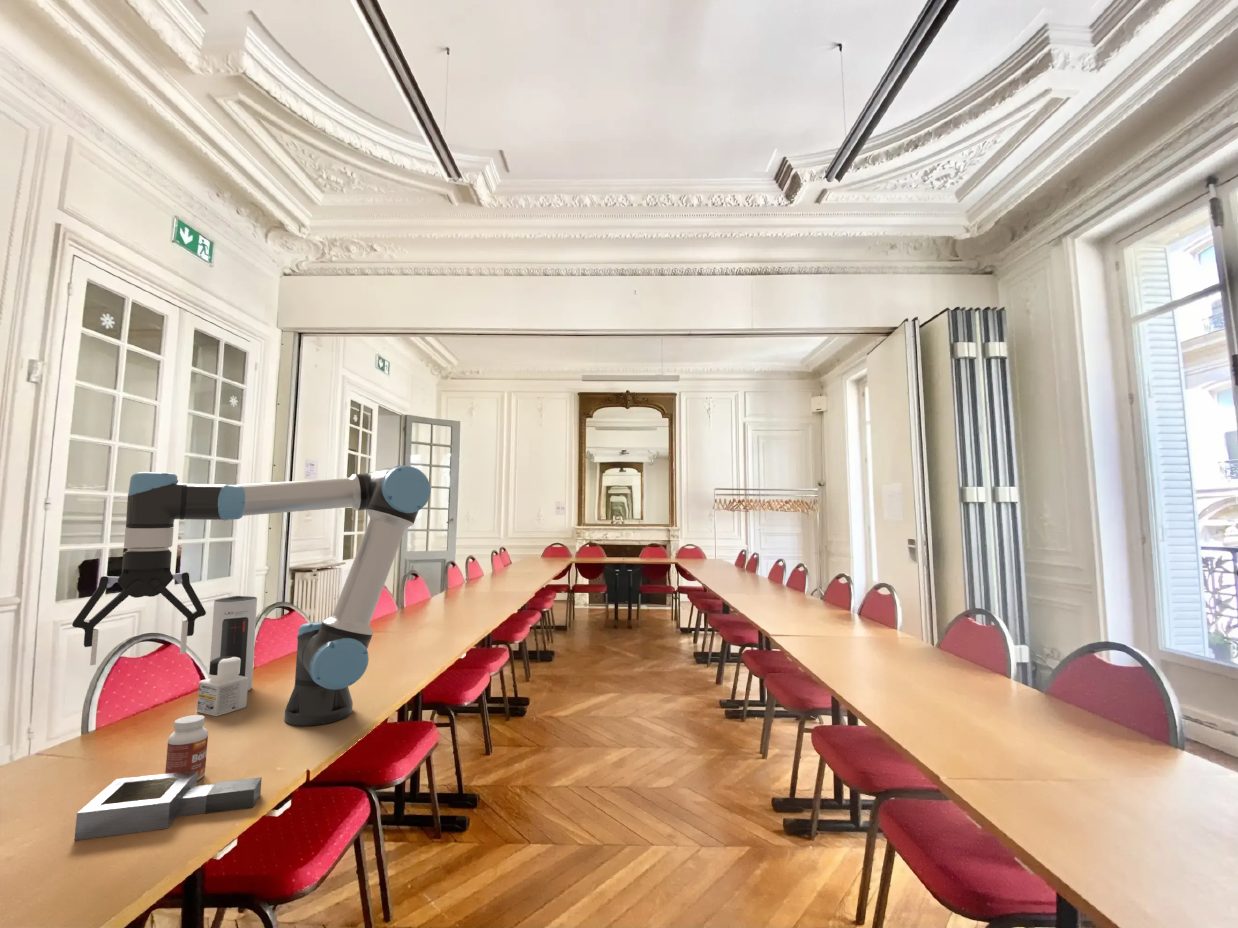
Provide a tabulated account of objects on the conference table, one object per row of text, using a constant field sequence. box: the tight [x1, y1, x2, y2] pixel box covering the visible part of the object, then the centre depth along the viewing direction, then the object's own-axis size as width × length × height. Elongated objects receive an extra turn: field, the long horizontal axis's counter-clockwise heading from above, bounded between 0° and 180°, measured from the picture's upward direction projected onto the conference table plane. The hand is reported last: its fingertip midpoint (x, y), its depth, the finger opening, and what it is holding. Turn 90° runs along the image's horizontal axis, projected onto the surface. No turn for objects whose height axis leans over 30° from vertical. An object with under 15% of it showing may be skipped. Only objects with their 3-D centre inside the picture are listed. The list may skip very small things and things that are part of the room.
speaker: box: [208, 595, 258, 692], centre depth 163 cm, size 11×10×26 cm
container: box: [196, 656, 248, 717], centre depth 147 cm, size 8×8×13 cm
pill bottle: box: [164, 714, 209, 781], centre depth 109 cm, size 6×6×11 cm
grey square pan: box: [73, 770, 262, 841], centre depth 98 cm, size 23×12×4 cm, turn 109°
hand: (139, 658), depth 113 cm, fingers open, 13 cm apart
